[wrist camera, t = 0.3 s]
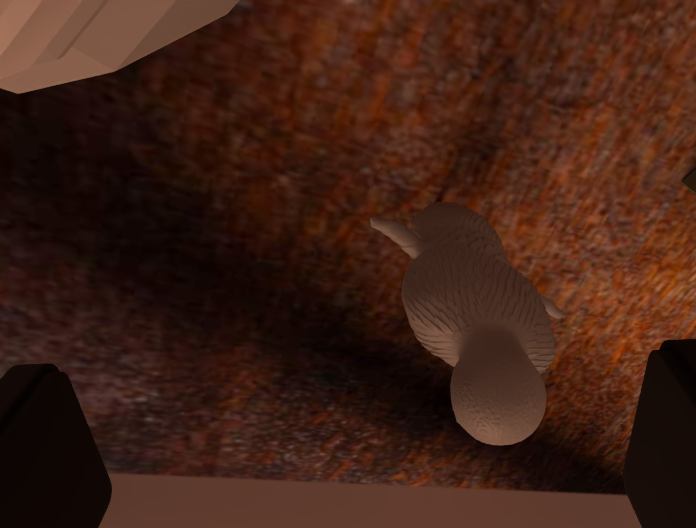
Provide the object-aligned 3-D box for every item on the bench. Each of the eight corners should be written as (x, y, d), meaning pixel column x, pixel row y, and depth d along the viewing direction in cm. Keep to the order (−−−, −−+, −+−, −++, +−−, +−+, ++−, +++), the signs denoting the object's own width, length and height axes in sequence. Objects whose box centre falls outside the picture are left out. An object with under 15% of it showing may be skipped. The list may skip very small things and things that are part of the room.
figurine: (346, 203, 29) (326, 415, 16) (385, 136, 28) (396, 314, 15) (501, 280, 31) (593, 526, 18) (546, 222, 29) (685, 448, 16)
